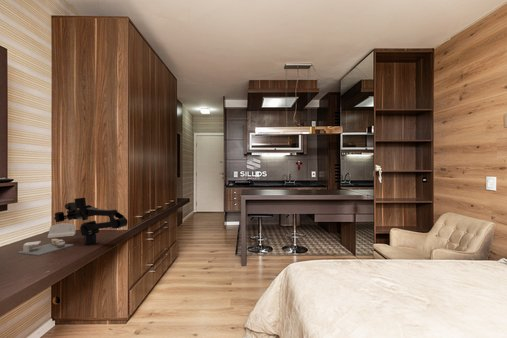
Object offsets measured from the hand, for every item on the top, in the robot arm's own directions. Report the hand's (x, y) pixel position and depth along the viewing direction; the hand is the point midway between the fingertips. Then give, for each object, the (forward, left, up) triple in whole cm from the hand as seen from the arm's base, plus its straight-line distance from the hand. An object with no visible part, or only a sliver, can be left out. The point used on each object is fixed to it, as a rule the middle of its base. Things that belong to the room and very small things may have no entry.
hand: (60, 217), depth 183 cm
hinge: (+15, -12, -16) cm, 25 cm away
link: (-10, +10, -15) cm, 21 cm away
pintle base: (-9, +16, -16) cm, 25 cm away
